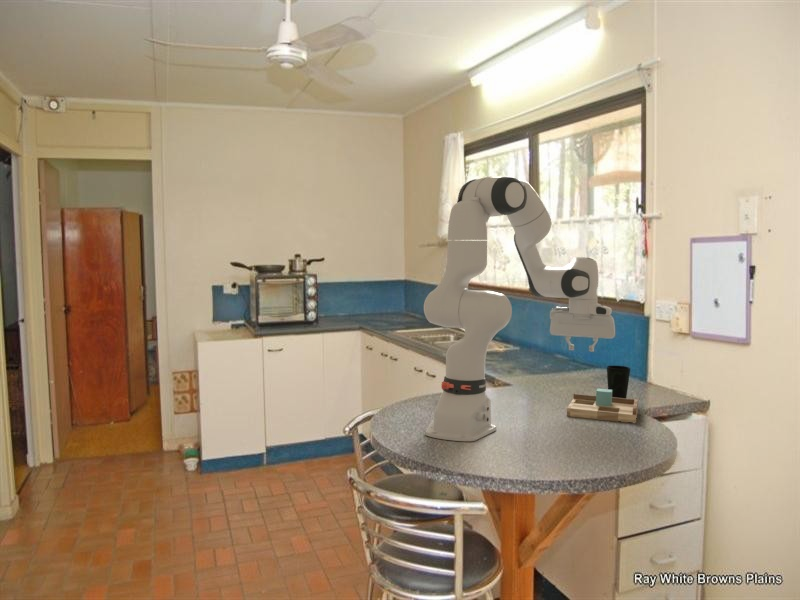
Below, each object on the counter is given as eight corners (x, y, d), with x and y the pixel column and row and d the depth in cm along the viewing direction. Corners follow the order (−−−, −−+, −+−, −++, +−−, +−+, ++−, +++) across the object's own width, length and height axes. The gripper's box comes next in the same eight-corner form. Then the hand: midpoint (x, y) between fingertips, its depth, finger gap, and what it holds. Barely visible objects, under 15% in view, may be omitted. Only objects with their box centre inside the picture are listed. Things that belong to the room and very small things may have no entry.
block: (610, 406, 196) (611, 392, 196) (595, 405, 198) (596, 390, 198) (611, 403, 200) (612, 389, 200) (597, 402, 202) (597, 388, 202)
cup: (625, 399, 218) (627, 365, 218) (631, 404, 211) (633, 369, 210) (603, 399, 219) (604, 365, 219) (608, 403, 212) (609, 368, 211)
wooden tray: (635, 423, 186) (636, 408, 185) (566, 415, 193) (567, 401, 193) (637, 411, 200) (638, 398, 200) (573, 405, 208) (573, 392, 208)
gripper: (548, 307, 201) (546, 349, 202) (615, 310, 194) (613, 354, 194) (551, 305, 207) (550, 347, 208) (616, 308, 199) (614, 351, 200)
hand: (581, 350), depth 201 cm, fingers open, 5 cm apart
